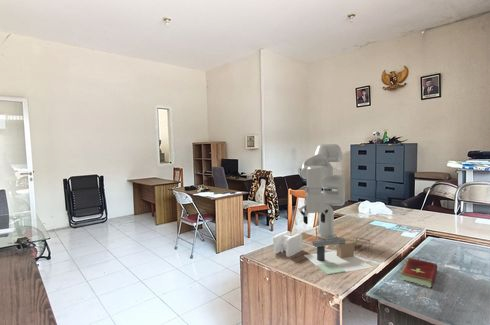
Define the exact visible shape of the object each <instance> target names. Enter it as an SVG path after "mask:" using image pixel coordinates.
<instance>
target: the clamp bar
mask: <svg viewBox="0 0 490 325" xmlns="http://www.w3.org/2000/svg"><path fill="white" fill-rule="evenodd" d="M345 241H346V239H345V238H344V237H336V238H335V239H319V240H314V241H313V240H312V246H313V247H315V248H317V247H319V246H324V247H326V246H333V245H337V244H341V243H345Z"/></svg>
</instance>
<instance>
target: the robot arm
mask: <svg viewBox="0 0 490 325" xmlns="http://www.w3.org/2000/svg"><path fill="white" fill-rule="evenodd" d="M342 160H343V151H342V149H341V147H340V145H339V144H336V143H324V144H323V143H322V144H319V145H318V146H317V147H316V149H315V152H314V154H313V155H312V156H310V157H309V158H307V159H305V160H304V161H303V163H302V165H301V168H300V177H301V178H302V179H304V180H306V188H304V191H303V192H306V193H305V195H304V199H303V200H304V203H303V204H302V205H301V206H299V207H298V212H299V213H300V214H301V215H302V217H303V220H302V222H303V223H304V224H305V225H308V222H309V221H308V218H309V217H308V215H309V214H318V216H319V217H318V220H319V222H318V224H319V226H318V228H317V230H318V232H317V233H316V237H317V238H319V239H321V240H327V239H335V238H337V234H336V233H335V232H334V231H335V230H334V229H335V228H334V227H335V226H334V223H335V222H334V221H335V218H334V217H335V215H334V209H333V208H332V206H340V207H342V206H344V205H345V202H346V182H345V178H344V176H343V175H340V174H334V167H333V165H332V164H331V163H340V162H342ZM322 189H325V190H322ZM326 189H327V190H326ZM303 209H304V211H303Z"/></svg>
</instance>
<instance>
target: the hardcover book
mask: <svg viewBox="0 0 490 325" xmlns="http://www.w3.org/2000/svg"><path fill="white" fill-rule="evenodd" d="M437 270H438V264H437V263H435V262H431V261H426V260H422V259H417V258H412V257H408V258H407V261H406V262H405V265H404V266H403V268H402V269H401V272H400V274H401V280H402V279H403V280H402V281H404V280H408V281H412V282H416V283H420V284H423V285H426V286H430V287H432V288H433V285H434V282H435V277H436V274H437ZM426 286H425V287H426ZM430 287H429V288H430Z"/></svg>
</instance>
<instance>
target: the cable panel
mask: <svg viewBox="0 0 490 325" xmlns="http://www.w3.org/2000/svg"><path fill="white" fill-rule="evenodd" d="M354 246H355V243H354V241H351V240H349V239H348V240H345V243H341V244H336V250H332V251H325V260H324V261H318V260H317V253H311V254H304V255H303V256H304V257H305V258H306V259H308V260H309V261H310V262H311V263H312V264H314V266H315V267H317V268H319V269H320V270H321V271H322V272H323V273H325V275H328V276H330V275H334V274H335V275H336V274H341V273H346V272H353V271H360V270H364V269H371V268H373V265H371V264H369V263H368V262H366V261H364V260H362V259H360V258H359V257H357V256H356V255H354V254H355V248H354Z"/></svg>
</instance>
